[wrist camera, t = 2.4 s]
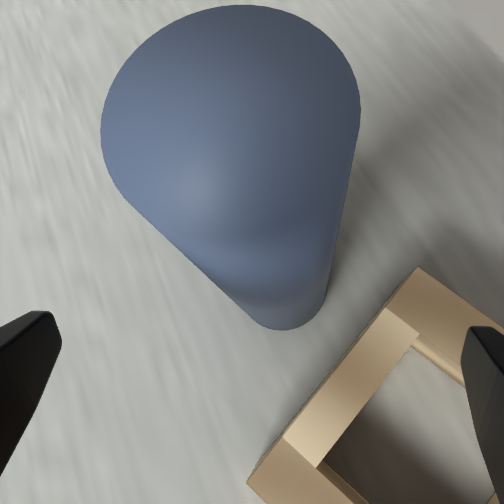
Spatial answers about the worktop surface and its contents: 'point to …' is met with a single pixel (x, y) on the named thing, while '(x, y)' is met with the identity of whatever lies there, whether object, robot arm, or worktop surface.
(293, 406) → the worktop surface
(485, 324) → the socket board
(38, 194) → the worktop surface
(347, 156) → the blue-grey cylinder
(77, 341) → the worktop surface
